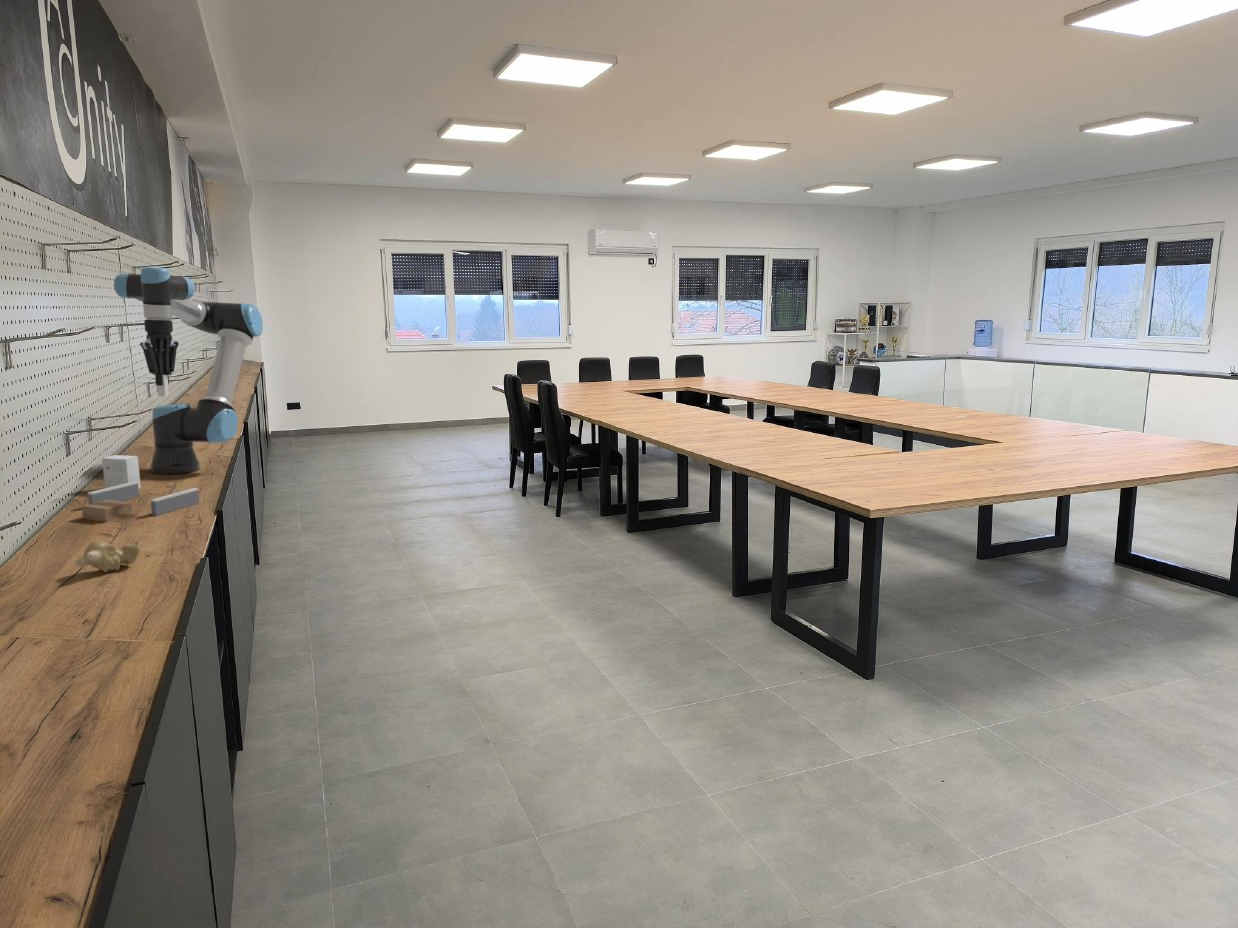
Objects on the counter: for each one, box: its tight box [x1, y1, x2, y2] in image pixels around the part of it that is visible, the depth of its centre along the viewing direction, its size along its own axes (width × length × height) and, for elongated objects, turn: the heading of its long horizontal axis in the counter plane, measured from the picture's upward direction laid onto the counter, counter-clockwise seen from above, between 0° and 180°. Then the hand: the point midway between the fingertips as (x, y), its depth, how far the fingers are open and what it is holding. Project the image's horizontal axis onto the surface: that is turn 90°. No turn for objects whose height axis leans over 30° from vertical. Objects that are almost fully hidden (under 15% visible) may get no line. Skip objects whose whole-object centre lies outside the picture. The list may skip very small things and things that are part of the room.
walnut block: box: [81, 500, 133, 523], centre depth 220 cm, size 8×8×4 cm
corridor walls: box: [87, 482, 200, 517], centre depth 233 cm, size 16×23×4 cm
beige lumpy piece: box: [73, 540, 140, 573], centre depth 178 cm, size 8×7×12 cm
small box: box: [101, 454, 141, 490], centre depth 250 cm, size 8×6×10 cm
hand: (163, 395), depth 250 cm, fingers closed
